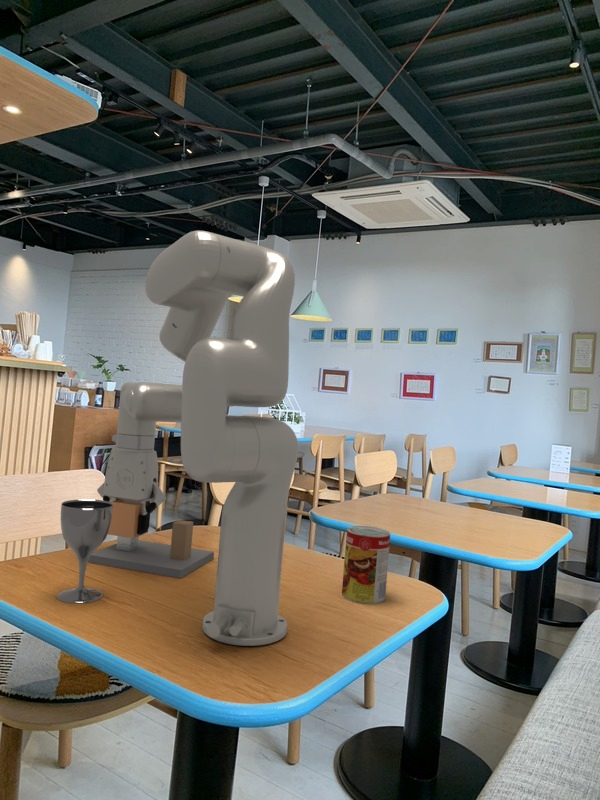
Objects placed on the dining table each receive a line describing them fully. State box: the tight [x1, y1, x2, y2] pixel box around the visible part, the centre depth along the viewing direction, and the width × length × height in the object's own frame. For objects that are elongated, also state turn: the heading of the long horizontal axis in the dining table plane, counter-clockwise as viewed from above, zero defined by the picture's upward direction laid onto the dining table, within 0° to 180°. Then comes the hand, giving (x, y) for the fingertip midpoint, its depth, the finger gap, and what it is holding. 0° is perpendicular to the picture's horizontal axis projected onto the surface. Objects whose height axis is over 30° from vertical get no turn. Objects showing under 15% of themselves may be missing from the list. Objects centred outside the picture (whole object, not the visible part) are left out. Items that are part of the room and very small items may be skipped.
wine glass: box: [56, 498, 113, 604], centre depth 96 cm, size 8×8×15 cm
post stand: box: [87, 519, 215, 579], centre depth 118 cm, size 15×20×8 cm
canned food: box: [341, 525, 391, 605], centre depth 107 cm, size 8×8×12 cm
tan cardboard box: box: [107, 499, 149, 538], centre depth 120 cm, size 6×6×7 cm
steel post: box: [116, 536, 139, 551], centre depth 120 cm, size 3×3×7 cm
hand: (128, 530), depth 120 cm, fingers closed on tan cardboard box, 5 cm apart
